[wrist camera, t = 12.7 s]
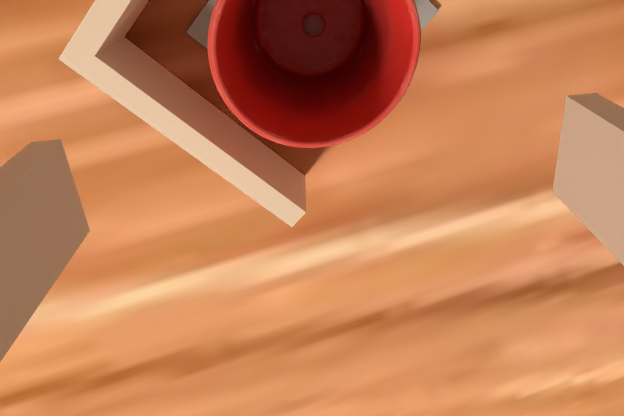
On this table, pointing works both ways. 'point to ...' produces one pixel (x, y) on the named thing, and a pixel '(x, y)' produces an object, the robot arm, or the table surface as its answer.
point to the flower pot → (313, 65)
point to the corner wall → (180, 109)
